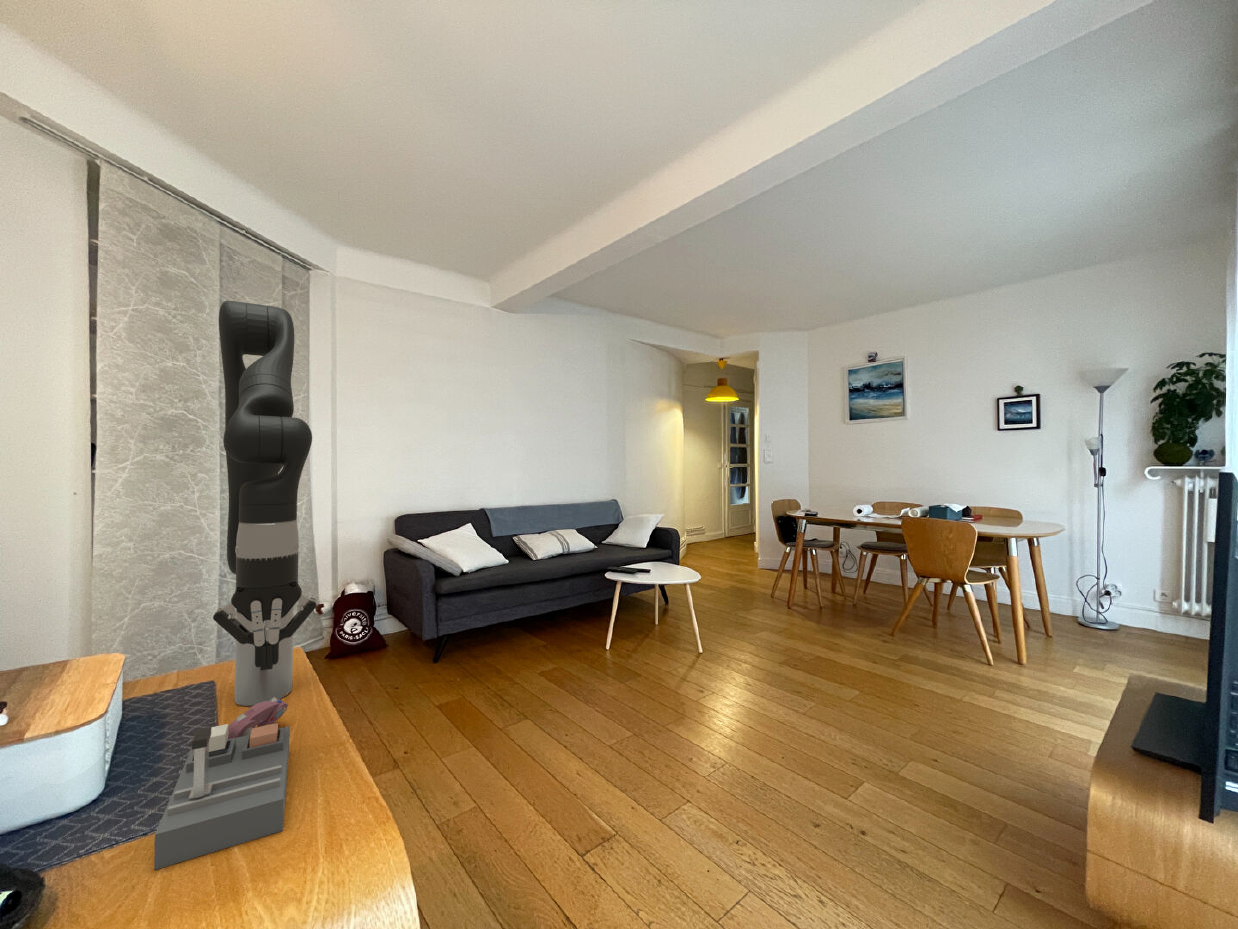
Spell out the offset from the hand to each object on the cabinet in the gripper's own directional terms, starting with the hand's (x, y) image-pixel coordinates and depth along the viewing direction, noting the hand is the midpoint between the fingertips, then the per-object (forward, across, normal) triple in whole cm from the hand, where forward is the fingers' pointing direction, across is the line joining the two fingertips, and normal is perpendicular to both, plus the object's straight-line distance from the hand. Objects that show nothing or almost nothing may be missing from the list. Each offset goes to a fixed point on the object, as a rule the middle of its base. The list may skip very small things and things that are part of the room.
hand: (266, 668), depth 74 cm
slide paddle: (+11, +6, +10) cm, 16 cm away
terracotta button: (+11, 0, 0) cm, 11 cm away
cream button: (+10, +6, 0) cm, 12 cm away
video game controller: (+16, +3, -12) cm, 20 cm away
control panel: (+16, +3, +5) cm, 17 cm away
